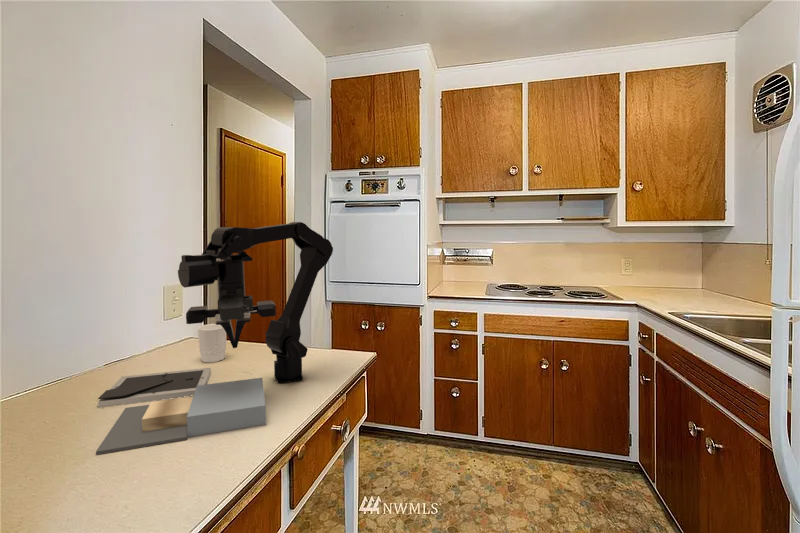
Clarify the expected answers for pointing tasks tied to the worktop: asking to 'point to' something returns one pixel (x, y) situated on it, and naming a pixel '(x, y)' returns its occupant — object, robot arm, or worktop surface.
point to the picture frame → (154, 387)
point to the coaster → (166, 414)
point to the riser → (226, 407)
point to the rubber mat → (138, 433)
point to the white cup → (212, 342)
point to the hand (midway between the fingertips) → (235, 347)
